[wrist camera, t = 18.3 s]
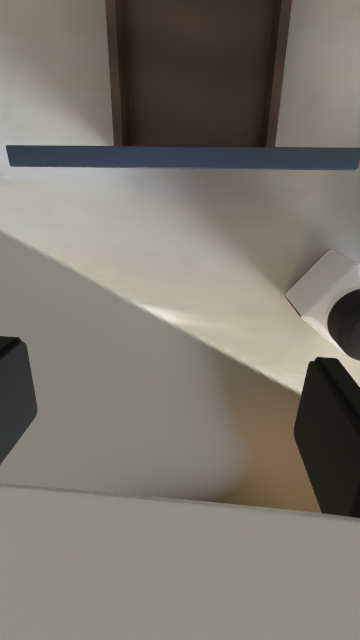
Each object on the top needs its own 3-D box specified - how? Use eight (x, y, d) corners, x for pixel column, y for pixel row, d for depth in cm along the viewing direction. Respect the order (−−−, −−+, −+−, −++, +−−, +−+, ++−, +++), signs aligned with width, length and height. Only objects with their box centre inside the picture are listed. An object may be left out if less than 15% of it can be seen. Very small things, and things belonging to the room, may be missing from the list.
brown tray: (114, -58, 27) (99, -102, 23) (289, -64, 26) (304, -110, 22) (125, 160, 33) (114, 156, 29) (265, 161, 32) (273, 157, 28)
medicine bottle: (283, 294, 37) (316, 339, 26) (329, 247, 35) (387, 275, 24) (324, 329, 39) (372, 385, 28) (371, 286, 36) (445, 329, 25)
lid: (5, 145, 13) (9, 166, 14) (363, 147, 12) (358, 170, 13) (112, 150, 28) (113, 160, 29) (275, 152, 28) (274, 162, 28)
